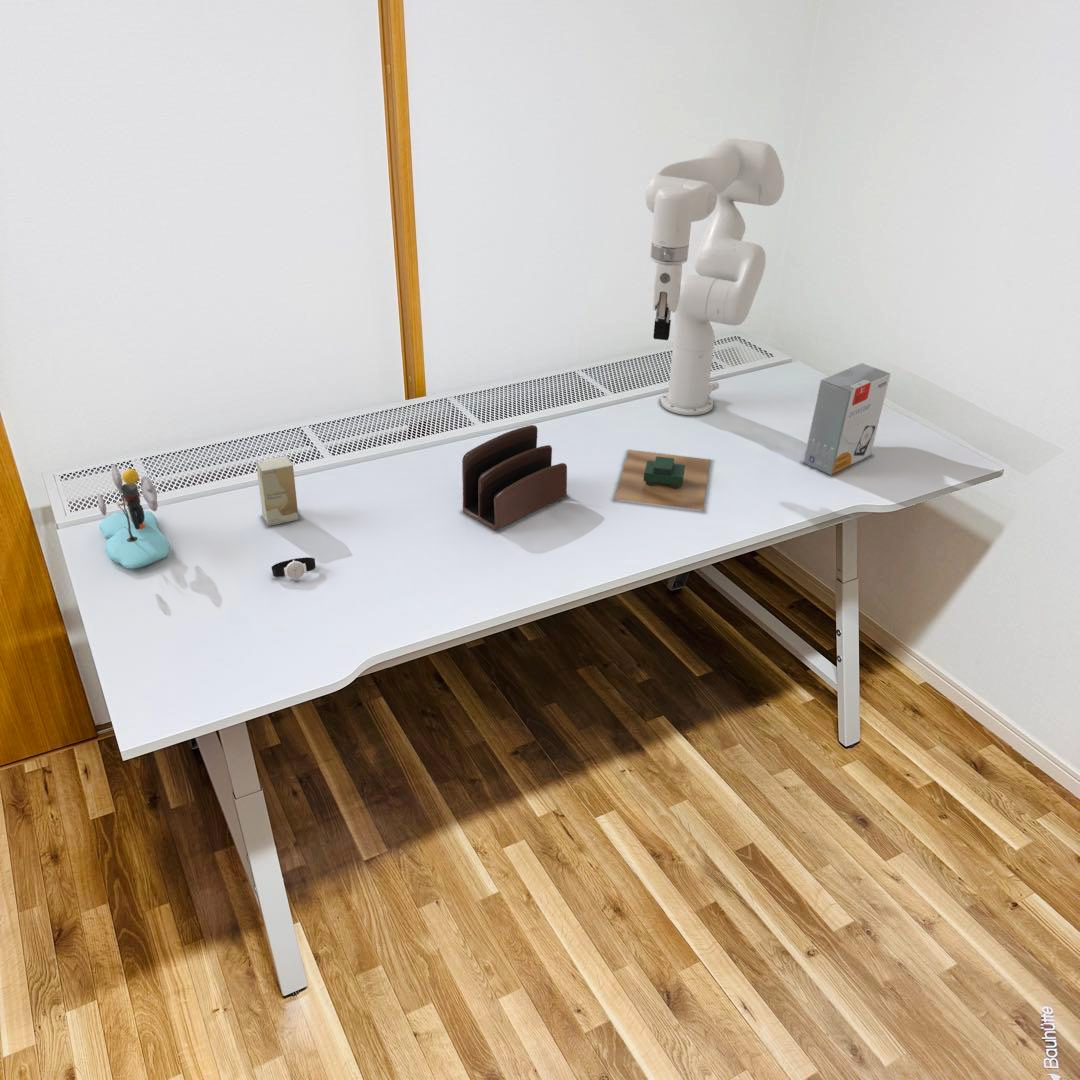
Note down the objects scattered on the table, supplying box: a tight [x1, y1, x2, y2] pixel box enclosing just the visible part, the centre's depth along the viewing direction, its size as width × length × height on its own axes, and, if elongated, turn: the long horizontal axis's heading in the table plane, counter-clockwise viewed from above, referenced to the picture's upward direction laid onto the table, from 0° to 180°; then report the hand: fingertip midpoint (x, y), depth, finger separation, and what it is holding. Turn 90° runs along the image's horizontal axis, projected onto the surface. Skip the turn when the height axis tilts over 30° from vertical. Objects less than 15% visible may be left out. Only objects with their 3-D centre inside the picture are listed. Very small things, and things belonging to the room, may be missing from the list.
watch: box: [271, 556, 316, 580], centre depth 176 cm, size 8×5×4 cm, turn 114°
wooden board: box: [613, 449, 711, 512], centre depth 208 cm, size 22×18×1 cm
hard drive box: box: [803, 362, 891, 476], centre depth 213 cm, size 16×8×20 cm, turn 131°
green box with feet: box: [643, 456, 685, 489], centre depth 206 cm, size 8×4×6 cm
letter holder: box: [461, 424, 568, 531], centre depth 195 cm, size 10×20×14 cm, turn 134°
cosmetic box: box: [255, 455, 300, 526], centre depth 189 cm, size 6×4×12 cm
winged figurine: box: [97, 463, 170, 570], centre depth 179 cm, size 20×11×15 cm, turn 28°
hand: (661, 338), depth 209 cm, fingers closed
